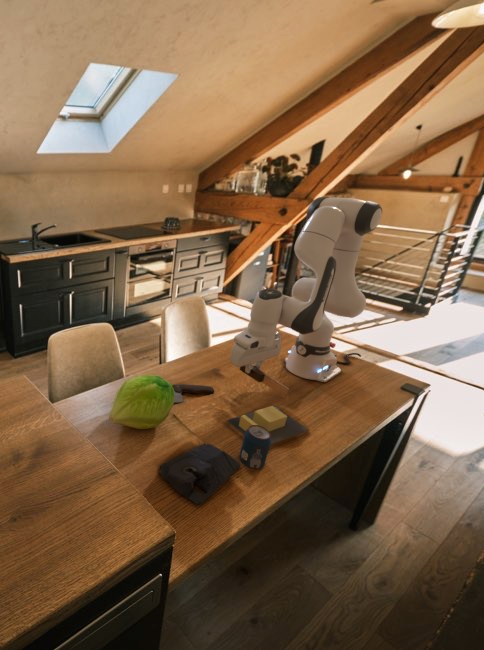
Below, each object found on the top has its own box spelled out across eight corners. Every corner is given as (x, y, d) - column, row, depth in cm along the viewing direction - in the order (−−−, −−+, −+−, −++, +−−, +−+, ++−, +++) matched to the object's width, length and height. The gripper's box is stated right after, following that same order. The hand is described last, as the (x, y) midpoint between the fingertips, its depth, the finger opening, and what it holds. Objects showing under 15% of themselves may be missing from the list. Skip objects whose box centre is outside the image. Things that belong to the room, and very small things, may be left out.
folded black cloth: (248, 475, 108) (251, 462, 106) (194, 510, 97) (196, 496, 95) (206, 442, 120) (208, 430, 118) (153, 469, 109) (155, 457, 107)
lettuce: (105, 441, 127) (88, 392, 128) (163, 411, 138) (146, 366, 139) (135, 448, 110) (115, 392, 111) (197, 413, 121) (179, 362, 122)
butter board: (272, 408, 137) (276, 395, 135) (308, 433, 125) (312, 420, 123) (225, 423, 128) (228, 410, 126) (258, 452, 117) (262, 438, 114)
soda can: (251, 452, 116) (259, 421, 112) (268, 469, 110) (278, 437, 106) (233, 458, 114) (240, 426, 109) (249, 475, 108) (258, 442, 103)
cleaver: (209, 387, 148) (210, 382, 147) (219, 402, 139) (220, 397, 138) (134, 389, 145) (134, 384, 145) (140, 405, 137) (140, 400, 136)
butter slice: (242, 424, 126) (244, 414, 125) (256, 436, 121) (259, 426, 120) (238, 425, 125) (240, 415, 124) (253, 437, 120) (255, 427, 119)
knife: (239, 369, 138) (241, 361, 137) (244, 368, 139) (246, 360, 138) (284, 399, 122) (286, 390, 121) (289, 397, 123) (291, 388, 122)
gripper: (274, 327, 135) (266, 360, 141) (230, 337, 128) (223, 372, 133) (290, 334, 130) (280, 369, 135) (244, 346, 122) (237, 382, 128)
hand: (252, 371), depth 134 cm, fingers closed on knife, 2 cm apart
